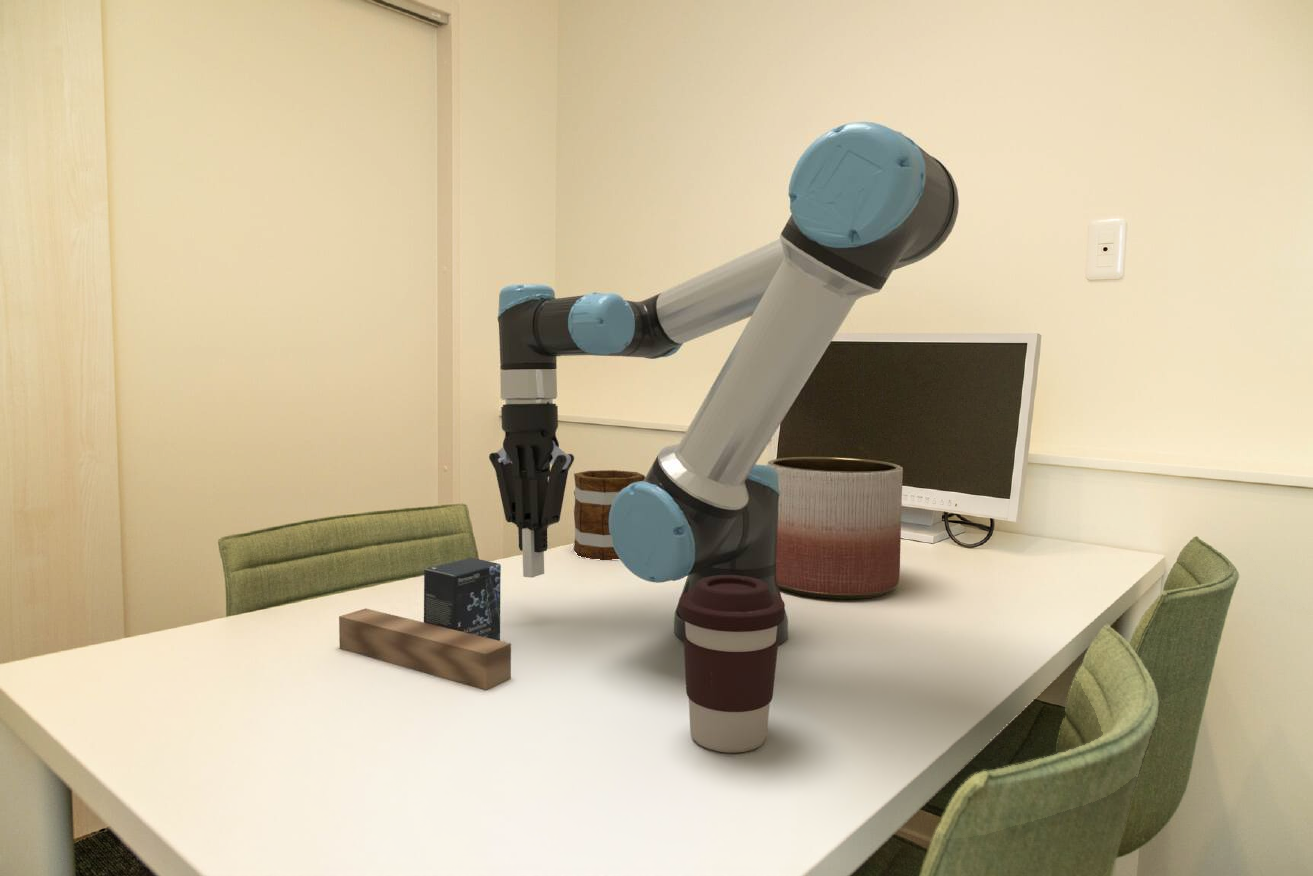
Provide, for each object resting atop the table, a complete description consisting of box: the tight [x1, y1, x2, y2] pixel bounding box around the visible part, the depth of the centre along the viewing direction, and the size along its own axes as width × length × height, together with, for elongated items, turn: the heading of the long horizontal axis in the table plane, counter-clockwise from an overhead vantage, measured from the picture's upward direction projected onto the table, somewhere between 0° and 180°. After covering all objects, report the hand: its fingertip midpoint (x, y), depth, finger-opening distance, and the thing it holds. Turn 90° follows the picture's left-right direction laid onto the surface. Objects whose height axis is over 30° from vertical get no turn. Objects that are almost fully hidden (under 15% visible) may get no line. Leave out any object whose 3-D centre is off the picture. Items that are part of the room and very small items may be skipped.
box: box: [423, 557, 502, 641], centre depth 99 cm, size 8×6×11 cm
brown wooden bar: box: [338, 607, 512, 691], centre depth 95 cm, size 24×4×4 cm, turn 59°
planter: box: [766, 456, 904, 600], centre depth 133 cm, size 22×22×20 cm
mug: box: [573, 469, 646, 561], centre depth 150 cm, size 20×14×15 cm
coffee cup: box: [678, 575, 786, 754], centre depth 76 cm, size 10×10×15 cm
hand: (533, 574), depth 110 cm, fingers closed
